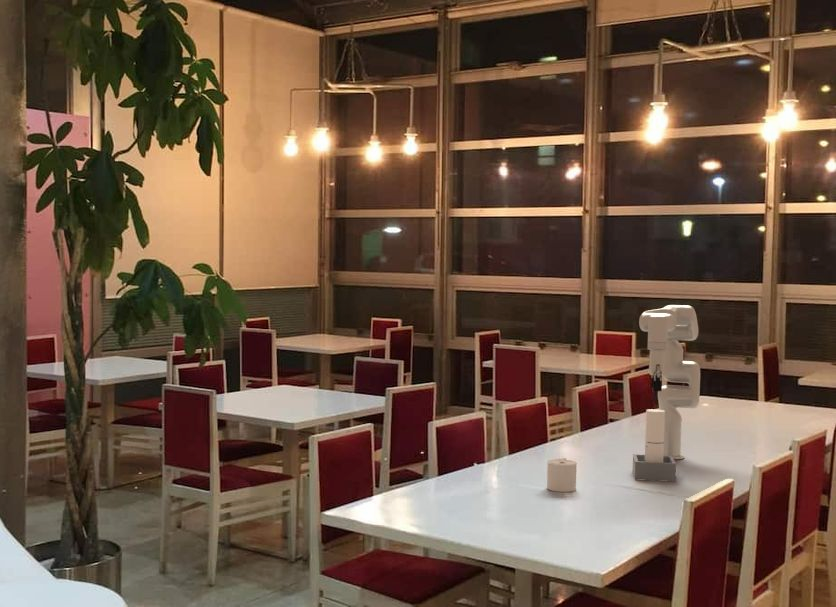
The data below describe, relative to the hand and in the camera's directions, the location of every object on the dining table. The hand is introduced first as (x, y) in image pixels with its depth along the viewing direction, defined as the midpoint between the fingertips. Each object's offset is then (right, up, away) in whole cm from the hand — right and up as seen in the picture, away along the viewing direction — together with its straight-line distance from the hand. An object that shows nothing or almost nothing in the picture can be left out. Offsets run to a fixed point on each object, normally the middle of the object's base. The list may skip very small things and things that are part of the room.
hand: (656, 389), depth 376 cm
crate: (-1, -35, +1) cm, 35 cm away
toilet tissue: (-41, -35, -23) cm, 59 cm away
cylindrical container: (-1, -34, +1) cm, 34 cm away
